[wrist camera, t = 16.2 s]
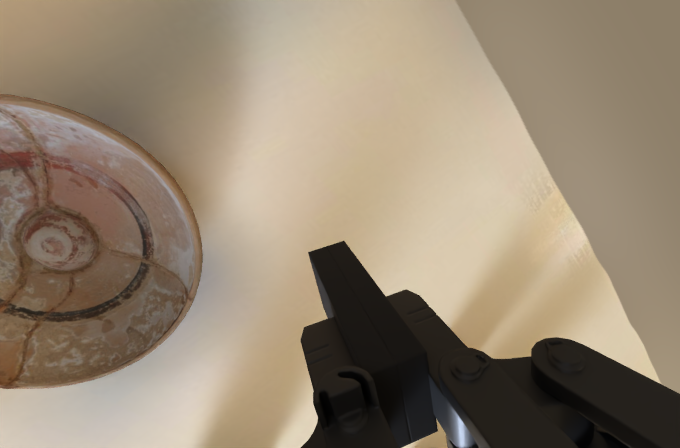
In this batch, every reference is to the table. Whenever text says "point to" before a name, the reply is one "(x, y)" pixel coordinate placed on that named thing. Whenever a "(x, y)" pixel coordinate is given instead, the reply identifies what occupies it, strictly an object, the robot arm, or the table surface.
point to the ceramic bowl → (86, 248)
